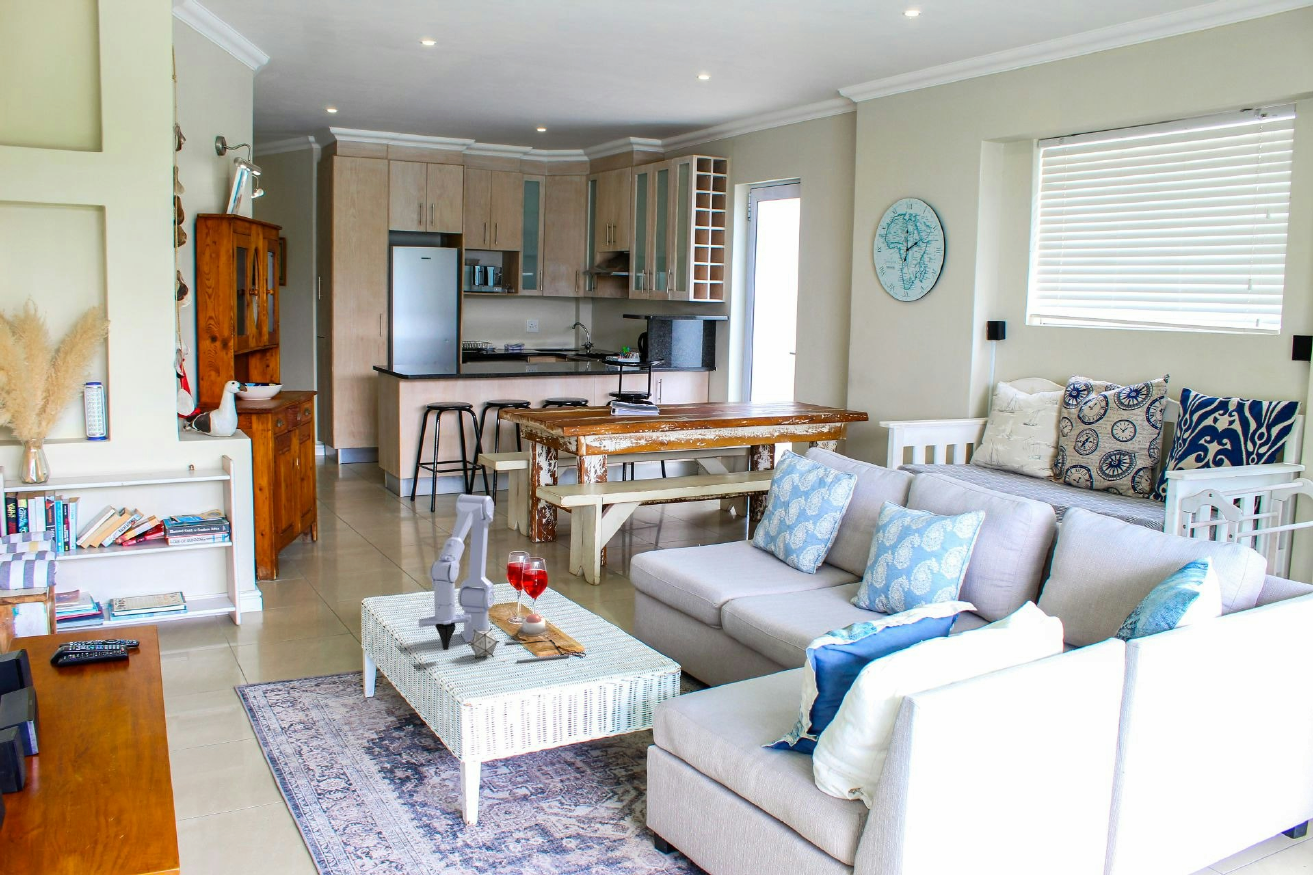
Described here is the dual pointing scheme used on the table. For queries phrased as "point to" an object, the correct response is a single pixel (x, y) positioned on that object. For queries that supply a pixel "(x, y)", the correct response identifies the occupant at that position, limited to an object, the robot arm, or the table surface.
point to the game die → (483, 643)
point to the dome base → (533, 634)
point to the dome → (533, 624)
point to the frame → (536, 658)
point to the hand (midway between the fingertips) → (445, 648)
